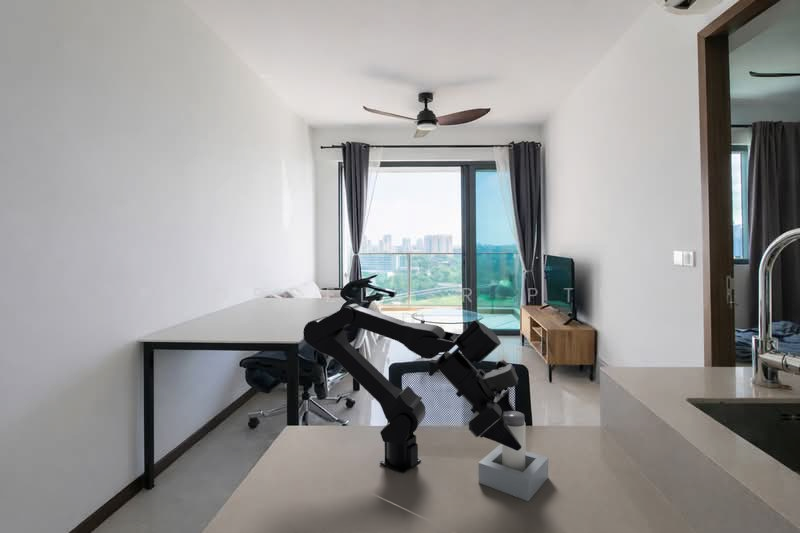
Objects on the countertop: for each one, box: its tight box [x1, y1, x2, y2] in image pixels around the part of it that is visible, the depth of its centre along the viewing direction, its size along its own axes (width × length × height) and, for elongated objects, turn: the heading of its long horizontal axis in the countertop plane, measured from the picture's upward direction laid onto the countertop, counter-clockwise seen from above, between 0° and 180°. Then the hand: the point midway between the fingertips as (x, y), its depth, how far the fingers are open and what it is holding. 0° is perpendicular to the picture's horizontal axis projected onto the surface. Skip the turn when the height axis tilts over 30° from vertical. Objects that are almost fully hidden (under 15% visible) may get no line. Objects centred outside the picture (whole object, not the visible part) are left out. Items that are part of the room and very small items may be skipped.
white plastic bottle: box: [502, 410, 526, 472], centre depth 84 cm, size 4×4×12 cm
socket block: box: [478, 443, 549, 502], centre depth 84 cm, size 10×10×4 cm
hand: (521, 438), depth 84 cm, fingers open, 9 cm apart
